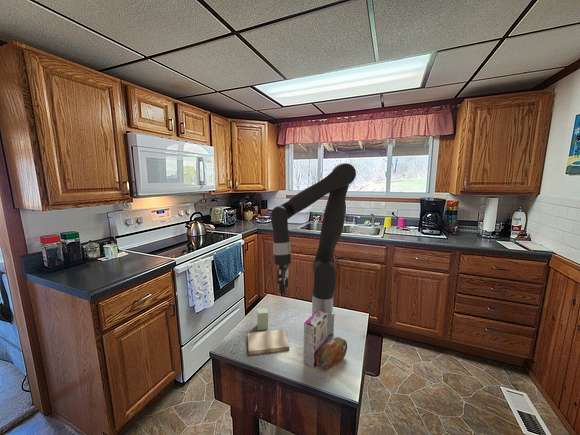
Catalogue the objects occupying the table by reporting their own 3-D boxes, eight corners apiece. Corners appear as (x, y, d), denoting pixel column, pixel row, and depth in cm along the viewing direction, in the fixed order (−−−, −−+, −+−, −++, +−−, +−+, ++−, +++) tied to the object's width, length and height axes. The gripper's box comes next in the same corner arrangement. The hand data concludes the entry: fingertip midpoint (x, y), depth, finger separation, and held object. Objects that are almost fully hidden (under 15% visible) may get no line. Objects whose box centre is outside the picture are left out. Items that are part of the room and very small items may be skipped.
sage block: (266, 323, 117) (266, 307, 116) (267, 329, 112) (268, 312, 111) (257, 324, 116) (257, 308, 115) (257, 330, 111) (258, 313, 110)
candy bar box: (316, 347, 100) (317, 309, 98) (327, 352, 98) (329, 313, 96) (302, 363, 91) (303, 321, 89) (314, 369, 88) (316, 326, 86)
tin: (320, 375, 85) (321, 353, 84) (314, 370, 88) (315, 348, 87) (347, 357, 95) (348, 336, 94) (340, 352, 97) (341, 332, 96)
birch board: (283, 332, 110) (283, 329, 110) (289, 349, 98) (289, 346, 98) (247, 336, 107) (247, 333, 106) (248, 354, 95) (248, 351, 95)
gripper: (288, 255, 98) (290, 295, 98) (293, 249, 112) (295, 285, 112) (269, 255, 99) (272, 295, 100) (277, 250, 113) (278, 285, 114)
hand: (284, 290), depth 106 cm, fingers open, 8 cm apart
